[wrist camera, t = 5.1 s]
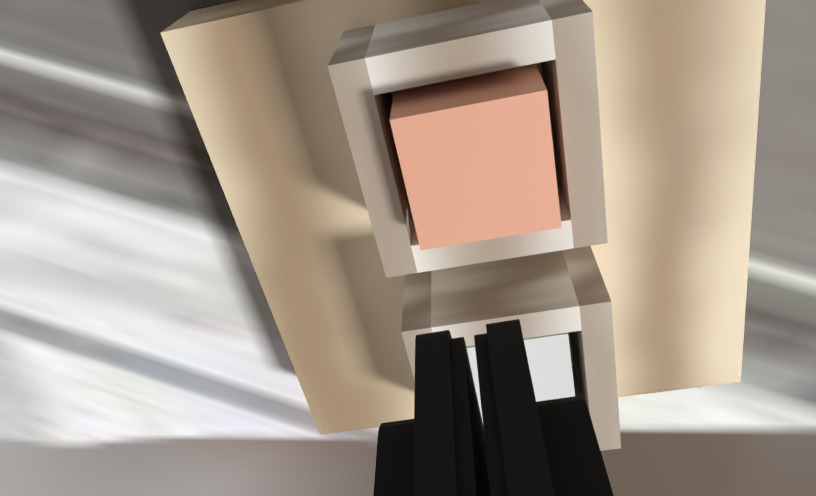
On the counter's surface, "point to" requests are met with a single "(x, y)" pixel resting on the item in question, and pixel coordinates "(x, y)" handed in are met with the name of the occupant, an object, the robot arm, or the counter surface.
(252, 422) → the counter surface
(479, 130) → the terracotta key
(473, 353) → the pale grey key
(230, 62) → the key panel
